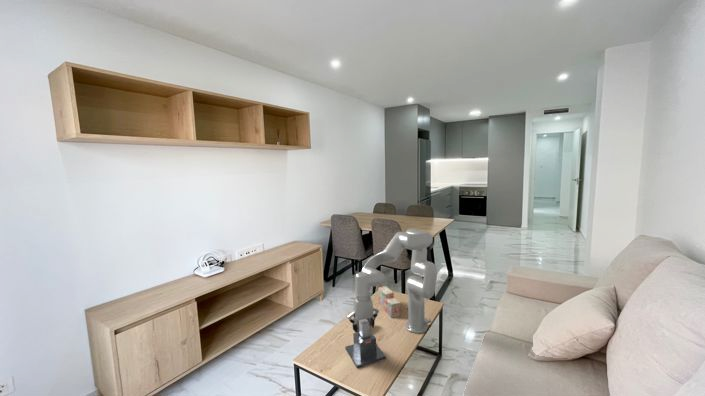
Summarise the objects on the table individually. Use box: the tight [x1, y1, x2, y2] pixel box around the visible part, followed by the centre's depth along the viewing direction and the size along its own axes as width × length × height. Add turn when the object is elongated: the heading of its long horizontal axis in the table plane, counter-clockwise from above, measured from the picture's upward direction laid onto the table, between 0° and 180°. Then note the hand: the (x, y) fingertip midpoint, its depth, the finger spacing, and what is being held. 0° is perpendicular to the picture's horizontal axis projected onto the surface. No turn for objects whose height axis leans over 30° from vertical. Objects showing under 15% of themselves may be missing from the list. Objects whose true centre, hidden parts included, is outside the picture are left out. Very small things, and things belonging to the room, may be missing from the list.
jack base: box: [345, 329, 387, 369], centre depth 149 cm, size 16×16×10 cm
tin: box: [355, 318, 371, 333], centre depth 171 cm, size 15×3×8 cm, turn 140°
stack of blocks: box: [377, 285, 401, 319], centre depth 194 cm, size 21×6×12 cm, turn 17°
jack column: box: [359, 319, 371, 340], centre depth 148 cm, size 4×4×16 cm
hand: (363, 328), depth 147 cm, fingers open, 9 cm apart
